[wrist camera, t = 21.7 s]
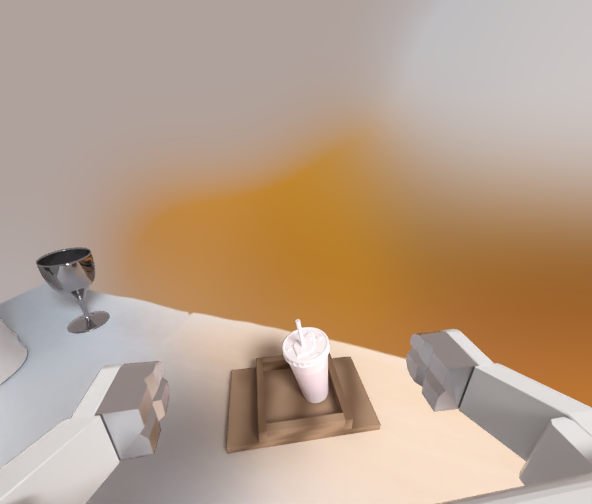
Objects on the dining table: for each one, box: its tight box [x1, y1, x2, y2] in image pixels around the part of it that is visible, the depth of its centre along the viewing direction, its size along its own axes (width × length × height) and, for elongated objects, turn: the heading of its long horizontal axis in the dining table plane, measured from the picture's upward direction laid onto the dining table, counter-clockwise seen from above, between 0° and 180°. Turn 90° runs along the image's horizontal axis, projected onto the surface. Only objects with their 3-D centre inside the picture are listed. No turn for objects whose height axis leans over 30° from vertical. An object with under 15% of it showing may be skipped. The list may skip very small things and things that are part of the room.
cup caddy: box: [227, 353, 380, 453], centre depth 40 cm, size 20×12×3 cm, turn 99°
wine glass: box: [36, 248, 109, 333], centre depth 54 cm, size 8×8×15 cm
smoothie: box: [282, 319, 330, 403], centre depth 38 cm, size 6×6×14 cm
